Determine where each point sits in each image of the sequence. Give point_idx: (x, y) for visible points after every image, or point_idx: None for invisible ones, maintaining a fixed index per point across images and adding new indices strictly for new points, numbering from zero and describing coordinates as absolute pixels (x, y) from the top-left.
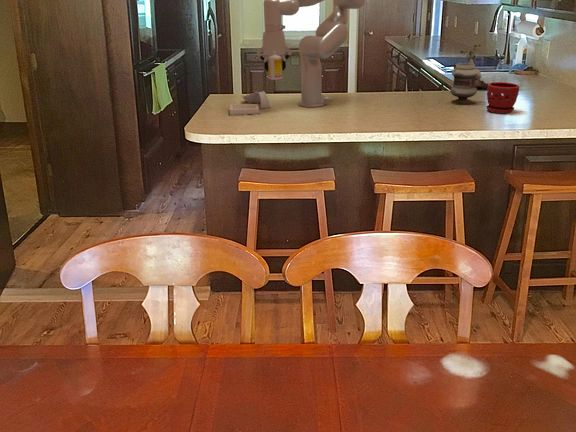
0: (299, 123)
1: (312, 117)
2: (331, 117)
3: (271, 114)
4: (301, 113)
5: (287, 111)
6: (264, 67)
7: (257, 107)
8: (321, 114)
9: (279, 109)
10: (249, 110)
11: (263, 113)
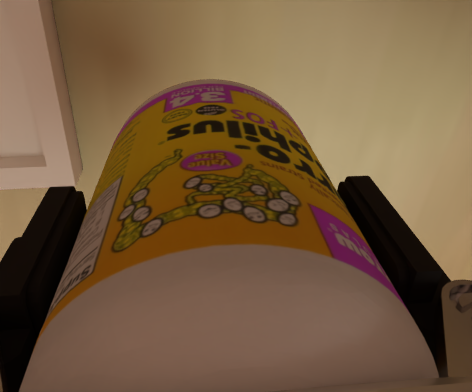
0: None
1: None
2: (447, 265)
3: None
4: (339, 164)
5: (268, 93)
6: (10, 246)
7: (55, 134)
8: (432, 200)
9: (219, 8)
10: (9, 185)
11: (107, 136)
